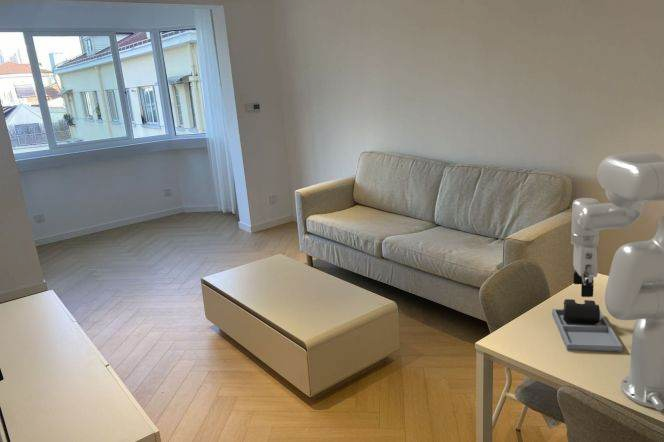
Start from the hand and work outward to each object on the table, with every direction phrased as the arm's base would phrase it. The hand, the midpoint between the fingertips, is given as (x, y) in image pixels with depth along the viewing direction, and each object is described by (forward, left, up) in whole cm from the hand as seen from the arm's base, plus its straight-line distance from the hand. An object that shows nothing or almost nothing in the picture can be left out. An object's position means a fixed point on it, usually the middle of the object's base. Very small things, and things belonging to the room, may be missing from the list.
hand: (582, 290), depth 156 cm
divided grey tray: (-5, 0, -12) cm, 13 cm away
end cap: (0, 0, -12) cm, 12 cm away
